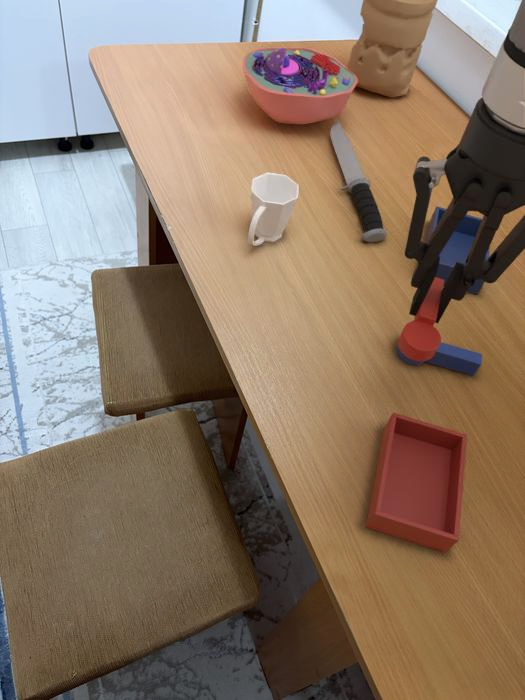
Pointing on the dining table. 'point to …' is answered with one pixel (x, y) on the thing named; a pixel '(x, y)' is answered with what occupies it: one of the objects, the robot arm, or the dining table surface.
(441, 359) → the blue spoon
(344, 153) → the knife
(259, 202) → the cup
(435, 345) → the red spoon
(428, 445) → the red bin
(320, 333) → the dining table surface
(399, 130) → the dining table surface
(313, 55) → the cell model
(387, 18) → the container
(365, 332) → the dining table surface
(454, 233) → the blue bin
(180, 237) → the dining table surface
